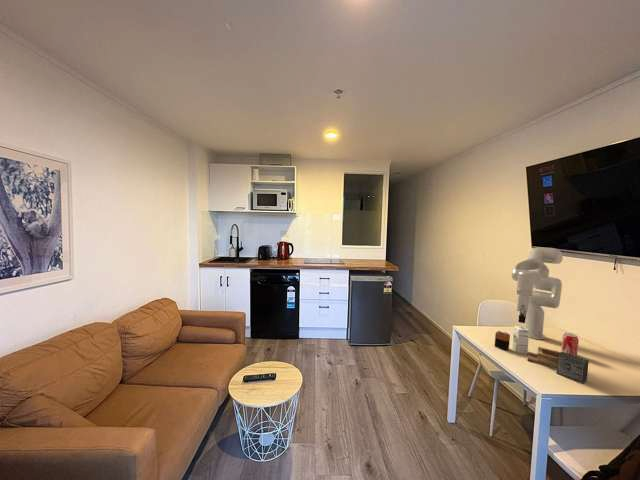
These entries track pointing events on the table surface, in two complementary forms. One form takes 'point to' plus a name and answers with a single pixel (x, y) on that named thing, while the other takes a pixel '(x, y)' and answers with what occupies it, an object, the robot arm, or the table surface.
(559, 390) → the table surface
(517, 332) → the syrup box
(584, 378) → the small box
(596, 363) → the table surface
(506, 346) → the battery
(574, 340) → the soda can
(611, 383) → the table surface
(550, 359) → the socket
